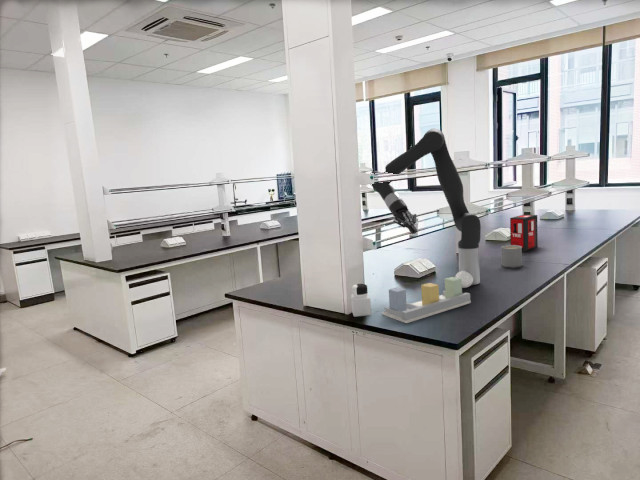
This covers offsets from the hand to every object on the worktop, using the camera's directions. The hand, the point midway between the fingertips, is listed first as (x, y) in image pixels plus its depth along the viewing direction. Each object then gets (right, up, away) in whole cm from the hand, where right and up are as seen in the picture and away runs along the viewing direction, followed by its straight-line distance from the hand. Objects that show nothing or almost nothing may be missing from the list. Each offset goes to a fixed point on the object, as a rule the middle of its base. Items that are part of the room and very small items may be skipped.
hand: (415, 232), depth 202 cm
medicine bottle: (-25, -33, -17) cm, 45 cm away
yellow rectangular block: (+2, -30, -20) cm, 36 cm away
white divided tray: (+1, -31, -18) cm, 36 cm away
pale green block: (+13, -28, -14) cm, 34 cm away
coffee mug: (+62, -17, +42) cm, 77 cm away
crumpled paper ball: (+24, -25, +7) cm, 36 cm away
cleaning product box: (+85, -9, +81) cm, 118 cm away
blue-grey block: (-11, -32, -23) cm, 40 cm away
